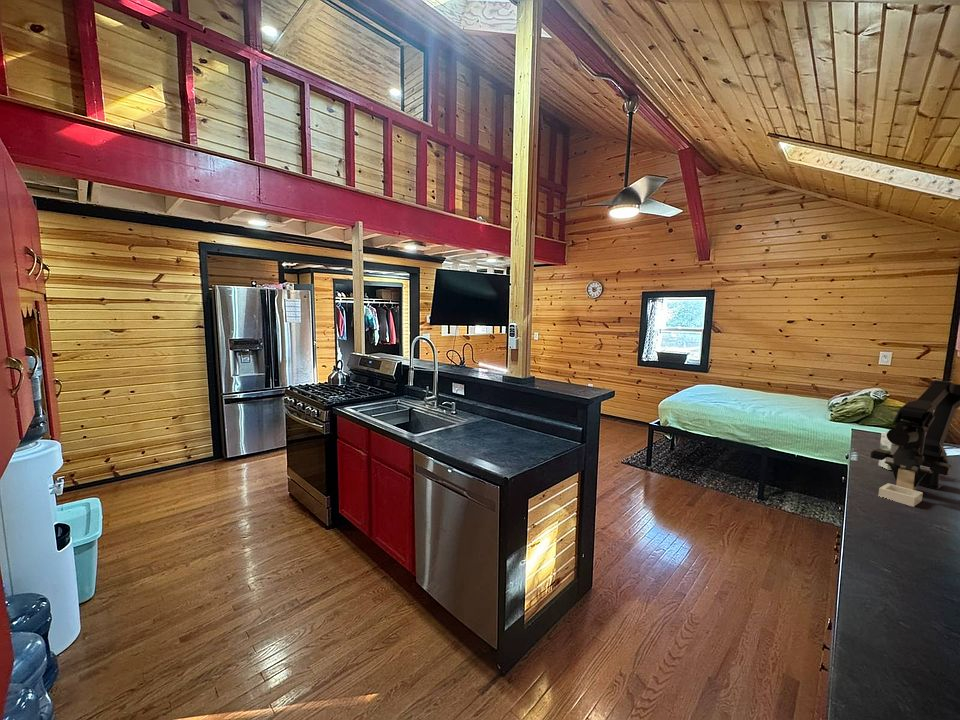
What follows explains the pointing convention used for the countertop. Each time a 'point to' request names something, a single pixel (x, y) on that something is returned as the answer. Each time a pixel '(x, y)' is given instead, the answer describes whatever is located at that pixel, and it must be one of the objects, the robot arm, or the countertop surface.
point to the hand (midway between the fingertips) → (906, 484)
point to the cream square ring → (900, 494)
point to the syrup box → (887, 446)
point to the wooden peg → (906, 477)
